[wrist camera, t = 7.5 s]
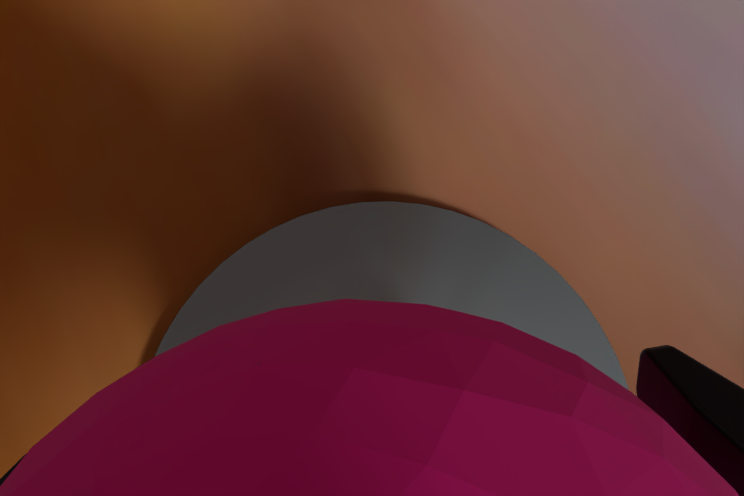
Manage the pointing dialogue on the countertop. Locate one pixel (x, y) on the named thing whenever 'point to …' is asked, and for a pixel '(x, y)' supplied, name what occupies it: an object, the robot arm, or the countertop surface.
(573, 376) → the pepper mill
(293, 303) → the disc
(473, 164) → the countertop surface
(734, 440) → the robot arm
